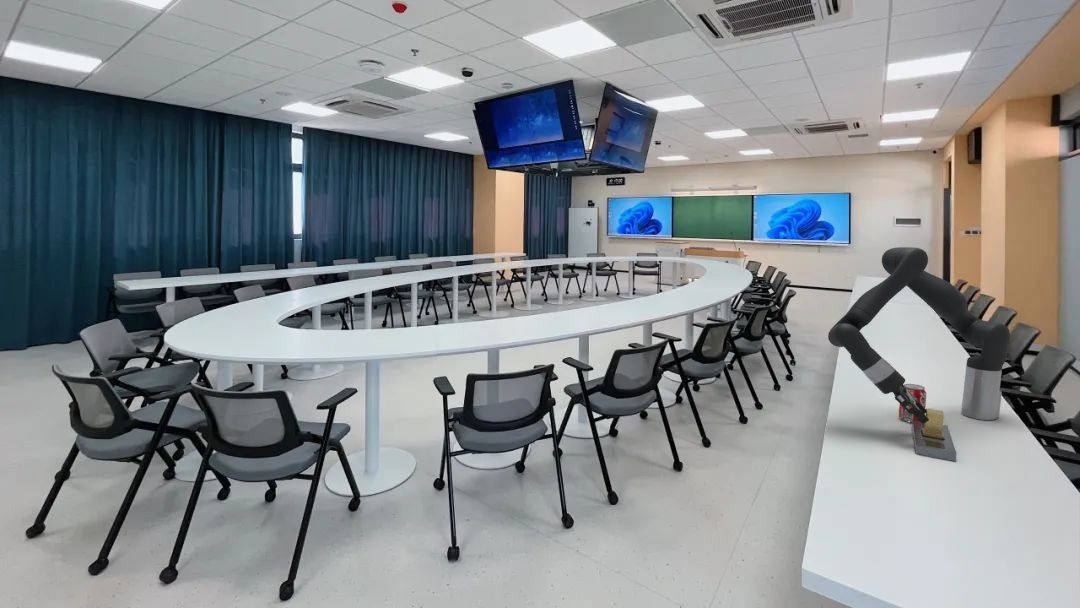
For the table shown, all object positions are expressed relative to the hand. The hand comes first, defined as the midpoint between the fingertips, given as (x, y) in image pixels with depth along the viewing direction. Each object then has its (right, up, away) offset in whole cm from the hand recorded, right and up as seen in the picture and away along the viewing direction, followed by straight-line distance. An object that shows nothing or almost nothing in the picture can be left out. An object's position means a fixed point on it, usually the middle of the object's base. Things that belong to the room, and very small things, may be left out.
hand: (925, 417), depth 154 cm
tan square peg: (+2, -8, 0) cm, 8 cm away
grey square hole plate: (+2, -8, 0) cm, 8 cm away
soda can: (+9, -5, +18) cm, 21 cm away
